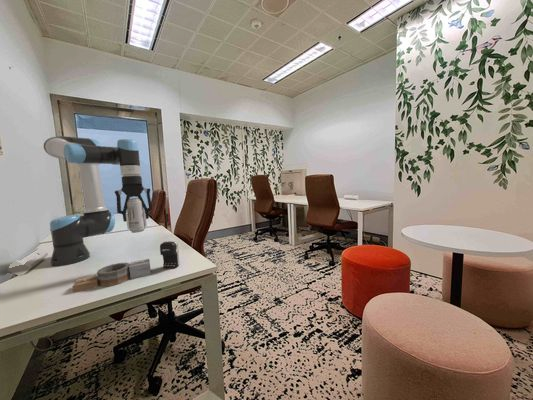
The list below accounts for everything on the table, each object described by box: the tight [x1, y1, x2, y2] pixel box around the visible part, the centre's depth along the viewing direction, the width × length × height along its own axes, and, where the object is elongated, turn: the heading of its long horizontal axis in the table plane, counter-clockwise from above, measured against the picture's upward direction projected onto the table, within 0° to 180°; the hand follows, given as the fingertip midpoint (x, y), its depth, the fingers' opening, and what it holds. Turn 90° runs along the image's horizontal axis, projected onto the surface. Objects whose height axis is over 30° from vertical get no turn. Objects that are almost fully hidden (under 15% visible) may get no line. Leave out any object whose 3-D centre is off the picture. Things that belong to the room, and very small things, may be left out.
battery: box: [159, 240, 180, 269], centre depth 94 cm, size 7×4×11 cm, turn 81°
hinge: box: [72, 258, 152, 294], centre depth 85 cm, size 10×24×5 cm, turn 119°
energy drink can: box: [126, 197, 146, 234], centre depth 97 cm, size 6×6×15 cm
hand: (137, 227), depth 98 cm, fingers closed on energy drink can, 6 cm apart
